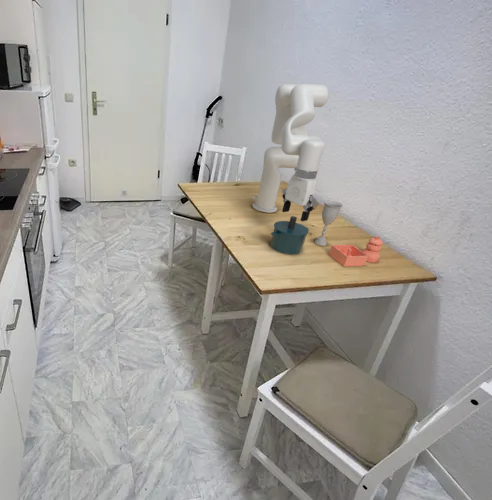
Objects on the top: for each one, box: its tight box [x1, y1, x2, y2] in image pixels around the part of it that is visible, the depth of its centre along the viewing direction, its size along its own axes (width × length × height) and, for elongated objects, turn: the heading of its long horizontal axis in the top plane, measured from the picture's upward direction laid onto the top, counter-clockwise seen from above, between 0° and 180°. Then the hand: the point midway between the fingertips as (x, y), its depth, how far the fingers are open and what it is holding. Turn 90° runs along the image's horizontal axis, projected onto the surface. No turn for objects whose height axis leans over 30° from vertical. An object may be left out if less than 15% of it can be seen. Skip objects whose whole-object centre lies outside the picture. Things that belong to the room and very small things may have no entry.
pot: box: [269, 227, 309, 255], centre depth 148 cm, size 12×18×8 cm
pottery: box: [328, 235, 384, 267], centre depth 141 cm, size 18×10×10 cm, turn 99°
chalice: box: [314, 199, 343, 246], centre depth 151 cm, size 7×7×18 cm
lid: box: [273, 215, 310, 236], centre depth 145 cm, size 13×13×6 cm
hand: (294, 216), depth 143 cm, fingers open, 9 cm apart
